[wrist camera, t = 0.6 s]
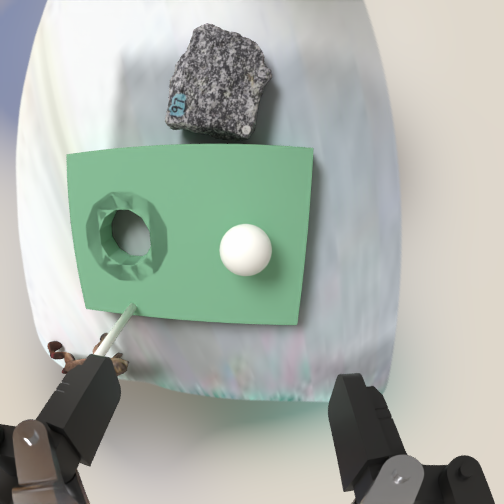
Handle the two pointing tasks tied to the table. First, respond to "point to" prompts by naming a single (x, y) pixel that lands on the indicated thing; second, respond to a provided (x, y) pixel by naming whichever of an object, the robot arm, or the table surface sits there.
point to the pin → (115, 330)
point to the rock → (217, 85)
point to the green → (192, 229)
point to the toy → (70, 361)
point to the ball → (245, 250)
